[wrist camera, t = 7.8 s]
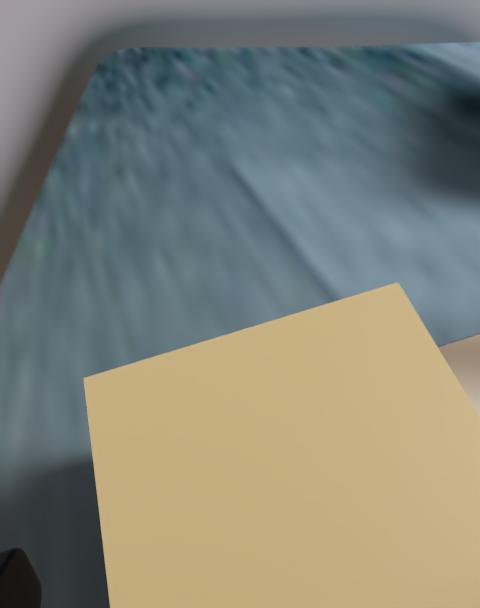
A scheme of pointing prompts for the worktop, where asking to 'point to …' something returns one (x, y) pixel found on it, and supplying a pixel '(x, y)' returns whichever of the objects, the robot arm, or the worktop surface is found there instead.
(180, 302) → the worktop surface
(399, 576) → the tea box
